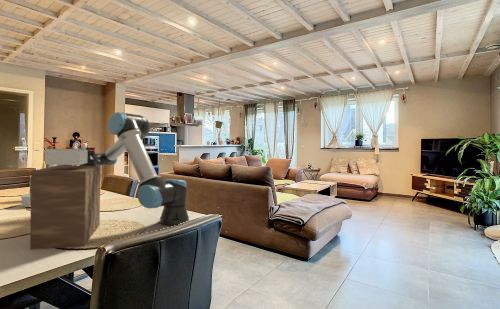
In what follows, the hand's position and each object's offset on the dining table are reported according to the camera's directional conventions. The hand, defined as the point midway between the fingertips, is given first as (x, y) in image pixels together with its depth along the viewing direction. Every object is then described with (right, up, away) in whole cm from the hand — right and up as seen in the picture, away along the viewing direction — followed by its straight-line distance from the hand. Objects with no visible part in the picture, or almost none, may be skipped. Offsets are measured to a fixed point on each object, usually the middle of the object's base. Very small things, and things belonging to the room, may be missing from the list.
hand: (78, 145), depth 128 cm
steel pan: (+1, -8, -5) cm, 9 cm away
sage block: (+5, -6, -14) cm, 16 cm away
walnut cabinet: (+2, -40, -10) cm, 41 cm away
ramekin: (-54, -37, +41) cm, 77 cm away
